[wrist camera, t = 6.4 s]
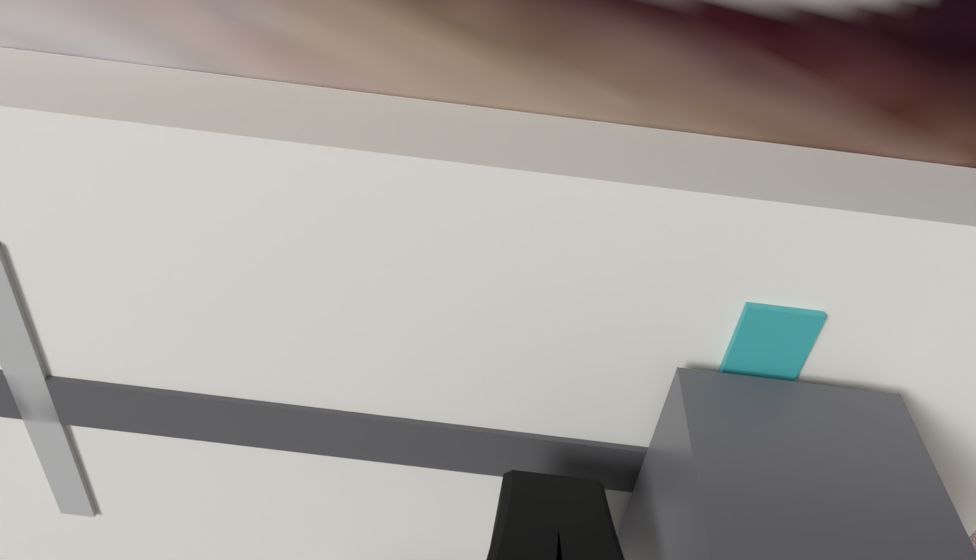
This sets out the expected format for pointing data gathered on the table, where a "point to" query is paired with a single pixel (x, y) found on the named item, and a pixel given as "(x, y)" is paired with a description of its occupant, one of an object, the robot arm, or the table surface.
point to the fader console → (418, 307)
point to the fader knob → (787, 477)
